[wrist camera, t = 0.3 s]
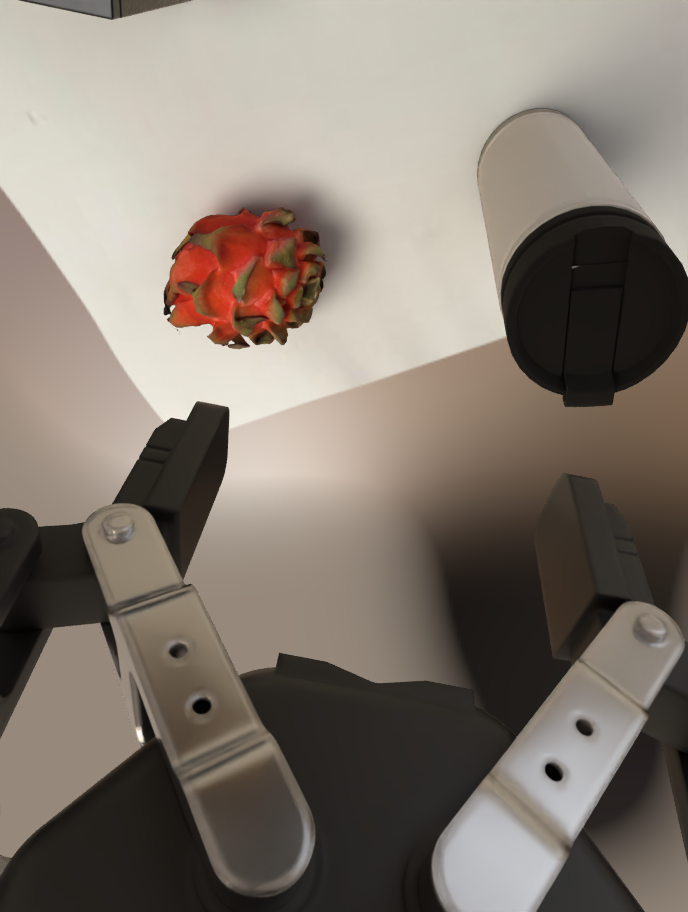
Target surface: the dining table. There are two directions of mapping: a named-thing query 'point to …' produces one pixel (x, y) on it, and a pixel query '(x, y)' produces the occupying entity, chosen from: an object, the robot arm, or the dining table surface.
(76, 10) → the black box lid
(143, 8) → the black lidded box
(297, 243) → the dragon fruit
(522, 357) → the travel mug
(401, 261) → the dining table surface
